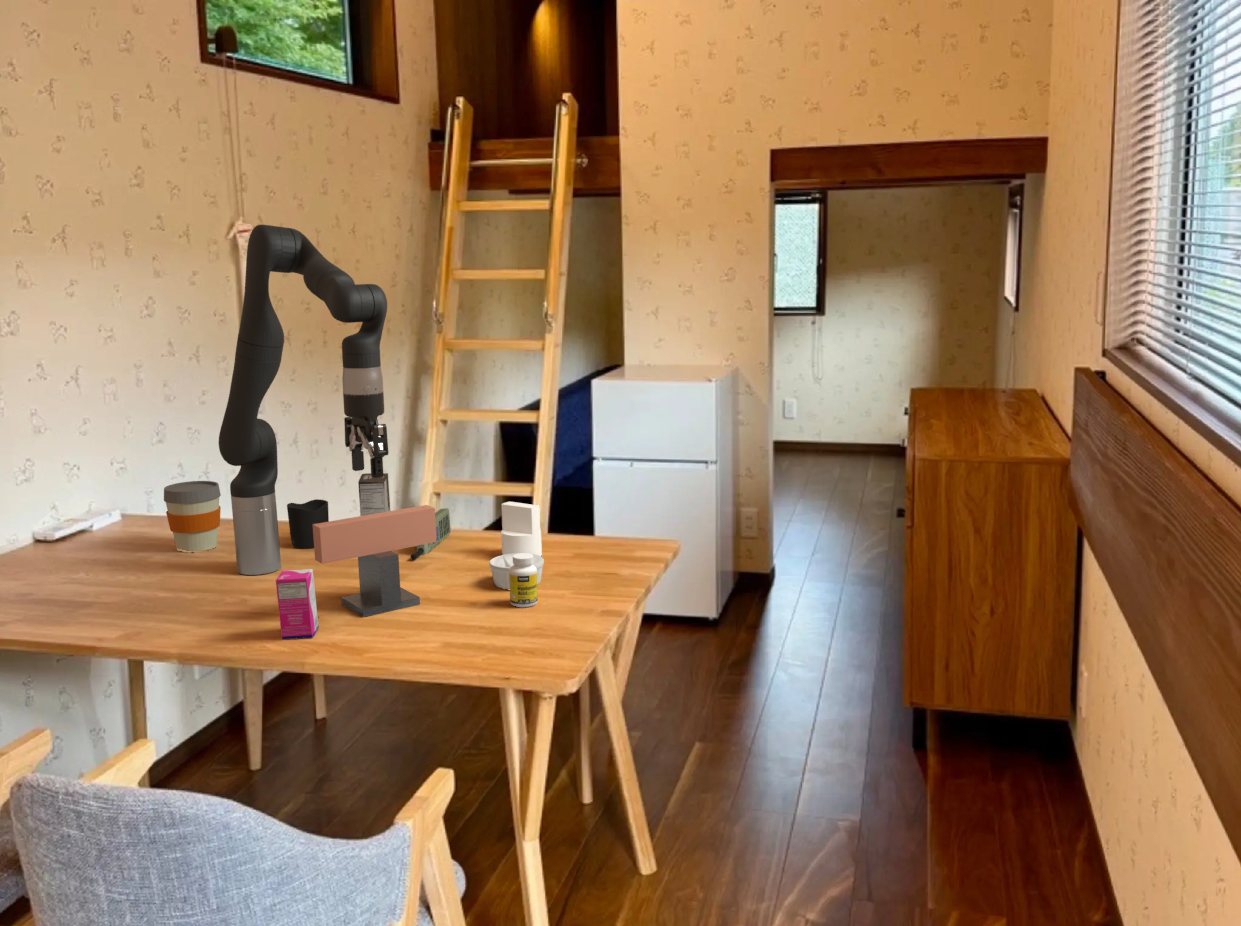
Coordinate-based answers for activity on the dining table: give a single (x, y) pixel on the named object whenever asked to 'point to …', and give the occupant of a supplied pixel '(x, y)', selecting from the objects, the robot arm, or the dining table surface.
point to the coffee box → (373, 494)
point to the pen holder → (306, 521)
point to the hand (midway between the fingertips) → (367, 473)
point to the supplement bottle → (523, 581)
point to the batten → (374, 533)
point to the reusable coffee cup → (193, 514)
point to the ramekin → (502, 568)
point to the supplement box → (297, 604)
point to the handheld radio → (441, 533)
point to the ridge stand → (379, 586)
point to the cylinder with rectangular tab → (521, 528)
